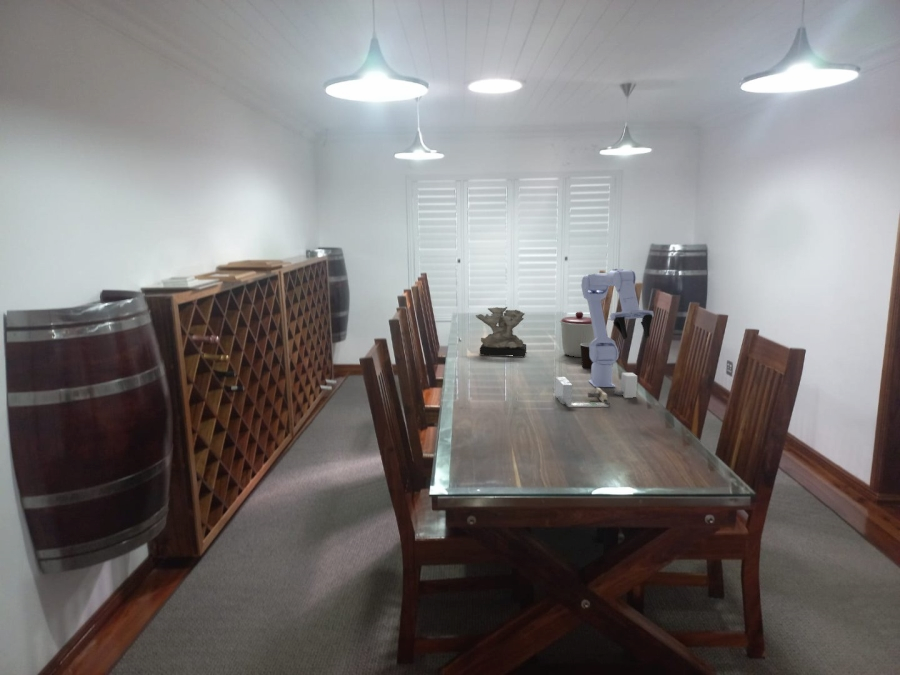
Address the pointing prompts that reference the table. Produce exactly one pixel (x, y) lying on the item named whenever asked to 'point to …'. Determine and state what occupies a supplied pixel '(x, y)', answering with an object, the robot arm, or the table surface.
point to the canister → (576, 333)
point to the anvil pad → (599, 395)
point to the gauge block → (628, 385)
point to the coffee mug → (585, 356)
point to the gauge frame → (565, 394)
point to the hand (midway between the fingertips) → (636, 337)
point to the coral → (502, 333)
